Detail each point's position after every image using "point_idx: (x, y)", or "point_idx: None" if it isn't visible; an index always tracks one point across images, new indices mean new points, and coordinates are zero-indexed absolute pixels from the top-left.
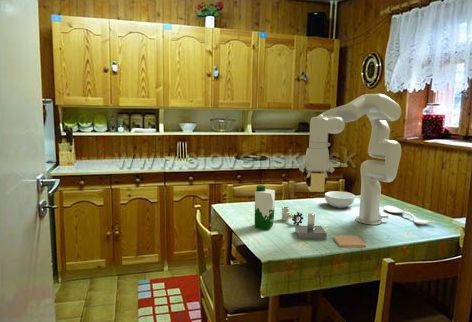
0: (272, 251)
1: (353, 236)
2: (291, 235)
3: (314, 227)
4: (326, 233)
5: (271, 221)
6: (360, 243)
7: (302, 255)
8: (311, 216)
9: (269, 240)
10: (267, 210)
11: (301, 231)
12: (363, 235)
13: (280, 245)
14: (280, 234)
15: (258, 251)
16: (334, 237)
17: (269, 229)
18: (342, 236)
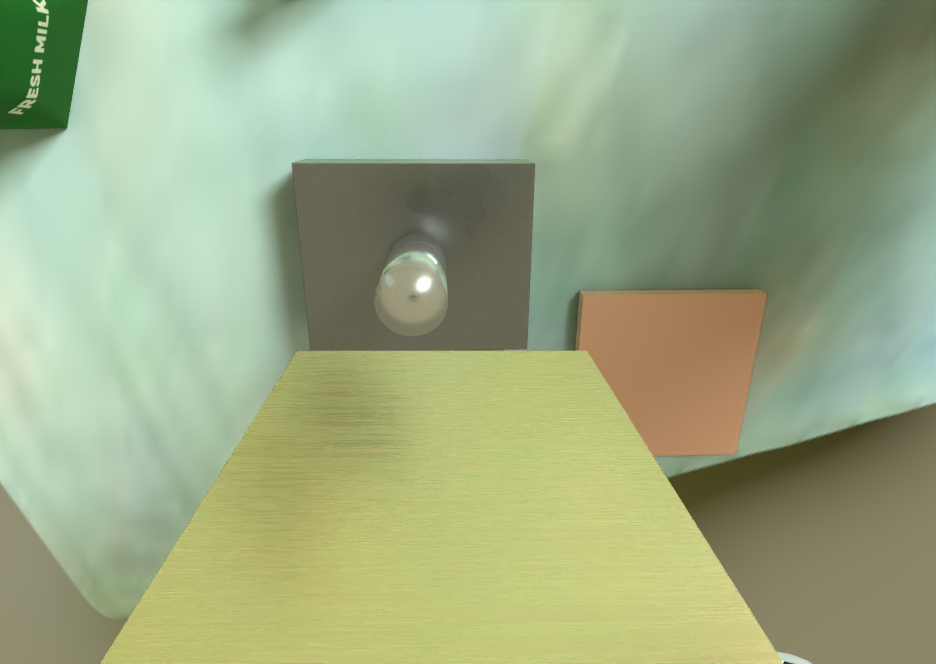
0: (135, 525)
1: (732, 310)
2: (267, 250)
3: (461, 216)
4: (524, 348)
5: (33, 105)
6: (713, 433)
7: None
8: (406, 330)
9: (98, 358)
10: None
11: (329, 319)
12: (837, 233)
13: (182, 440)
14: (177, 230)
15: (49, 529)
16: (581, 334)
17: (68, 115)
18: (650, 311)
